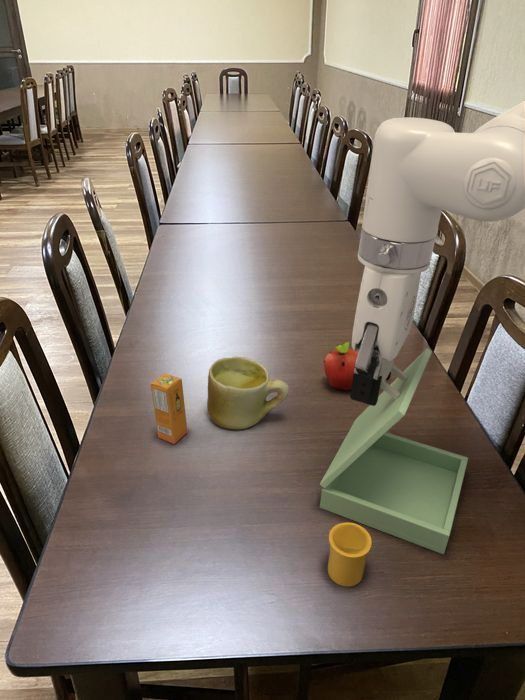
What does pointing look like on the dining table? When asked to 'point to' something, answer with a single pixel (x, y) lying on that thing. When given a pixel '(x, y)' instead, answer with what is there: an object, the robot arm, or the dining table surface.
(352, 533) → the cup
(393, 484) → the green tray box
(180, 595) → the dining table surface
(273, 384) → the mug
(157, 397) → the supplement box
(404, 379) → the lid
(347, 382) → the apple
